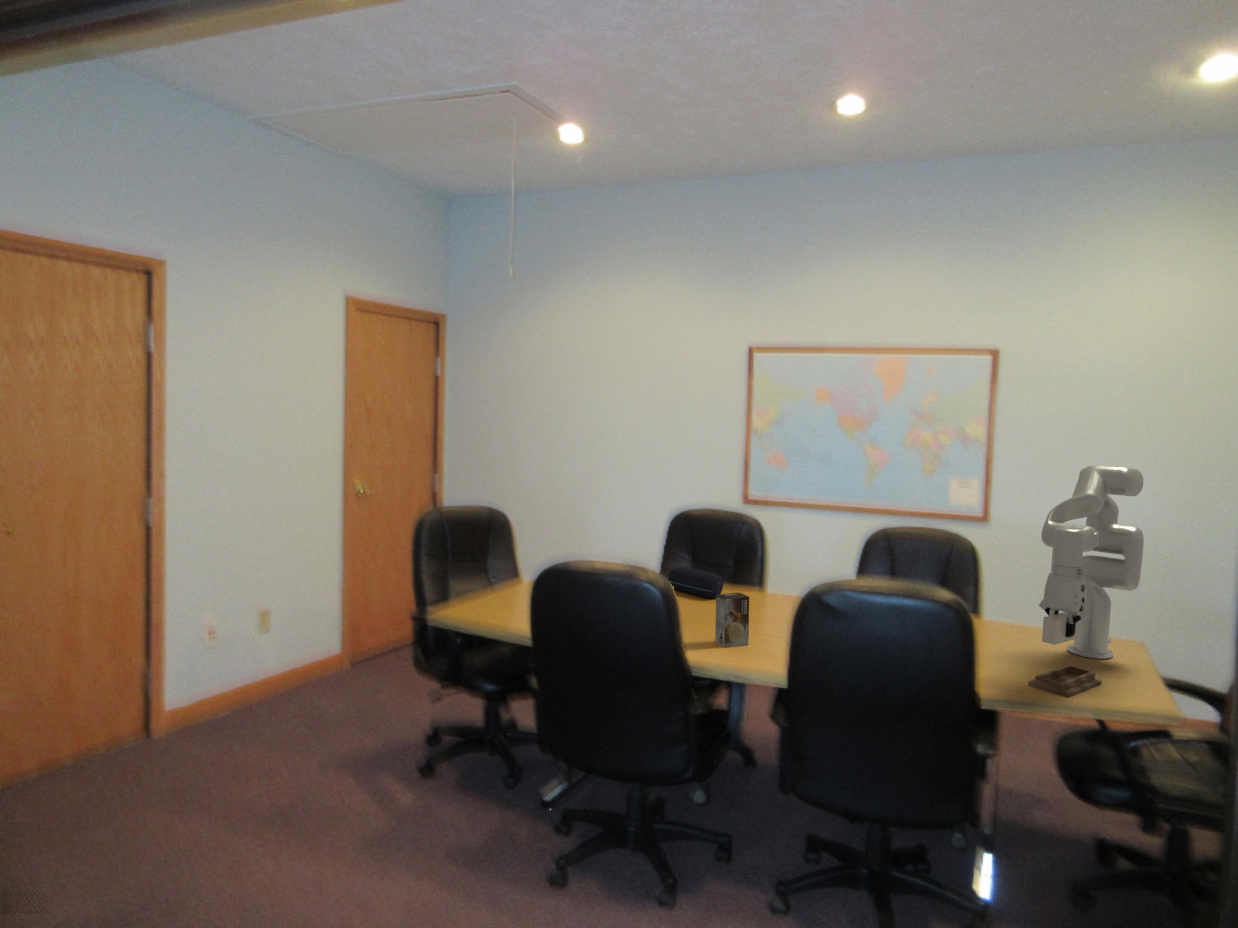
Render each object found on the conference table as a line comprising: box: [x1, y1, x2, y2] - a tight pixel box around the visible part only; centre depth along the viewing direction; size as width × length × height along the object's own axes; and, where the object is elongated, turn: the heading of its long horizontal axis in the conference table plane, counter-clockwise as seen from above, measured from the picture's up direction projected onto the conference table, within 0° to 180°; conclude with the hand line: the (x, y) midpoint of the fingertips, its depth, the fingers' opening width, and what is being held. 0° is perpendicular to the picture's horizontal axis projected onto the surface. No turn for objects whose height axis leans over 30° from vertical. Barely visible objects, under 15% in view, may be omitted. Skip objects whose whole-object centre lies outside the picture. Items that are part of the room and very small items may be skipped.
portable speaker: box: [667, 566, 724, 599], centre depth 319 cm, size 25×10×10 cm, turn 43°
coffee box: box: [714, 592, 750, 648], centre depth 253 cm, size 9×6×16 cm
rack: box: [1027, 664, 1103, 698], centre depth 222 cm, size 19×11×3 cm, turn 125°
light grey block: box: [1041, 611, 1082, 646], centre depth 222 cm, size 14×4×7 cm, turn 123°
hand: (1062, 633), depth 222 cm, fingers closed on light grey block, 3 cm apart
